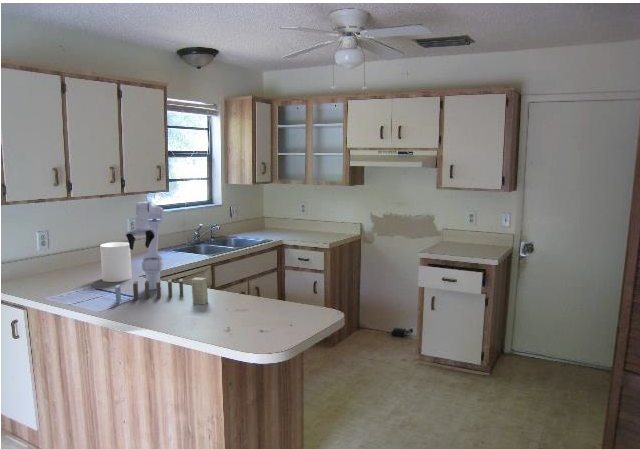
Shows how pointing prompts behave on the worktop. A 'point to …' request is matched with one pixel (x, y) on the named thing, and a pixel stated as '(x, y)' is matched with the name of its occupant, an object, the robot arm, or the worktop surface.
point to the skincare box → (199, 290)
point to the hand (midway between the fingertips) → (139, 247)
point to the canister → (115, 261)
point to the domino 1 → (118, 293)
